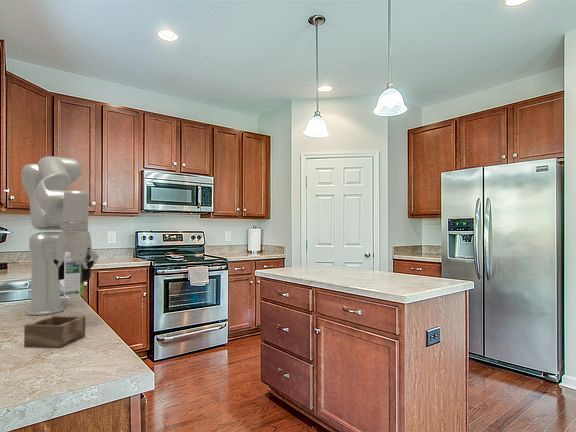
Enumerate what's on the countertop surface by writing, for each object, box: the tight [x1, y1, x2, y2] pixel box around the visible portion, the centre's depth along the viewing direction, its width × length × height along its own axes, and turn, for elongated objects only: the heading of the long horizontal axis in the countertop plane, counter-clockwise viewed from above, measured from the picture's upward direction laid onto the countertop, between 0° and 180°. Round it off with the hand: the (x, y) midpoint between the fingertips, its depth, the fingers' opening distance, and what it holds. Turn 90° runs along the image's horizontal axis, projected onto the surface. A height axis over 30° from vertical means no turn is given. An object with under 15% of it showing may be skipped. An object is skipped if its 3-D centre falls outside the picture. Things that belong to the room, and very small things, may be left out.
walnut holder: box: [23, 315, 86, 349], centre depth 109 cm, size 11×11×6 cm
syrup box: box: [63, 252, 85, 298], centre depth 124 cm, size 6×6×14 cm
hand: (74, 279), depth 124 cm, fingers closed on syrup box, 7 cm apart
